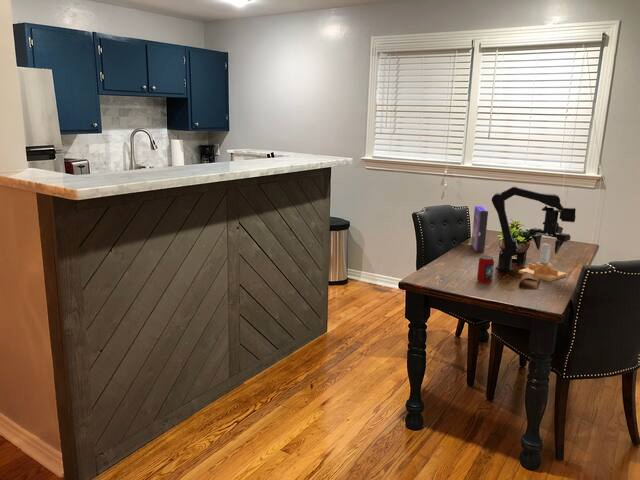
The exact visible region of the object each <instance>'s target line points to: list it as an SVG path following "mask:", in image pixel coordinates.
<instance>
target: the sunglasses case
mask: <svg viewBox="0 0 640 480" xmlns="http://www.w3.org/2000/svg"><path fill="white" fill-rule="evenodd" d="M540 282H541V279H538V278H536V277H534V276H533V275H531V274H530V273H528V272H524V273H523V274H521V276H520V280H519V284H518V286H519V288H521V289H526V290H528V289H529V290H535V291H538V290H539V284H540Z"/></svg>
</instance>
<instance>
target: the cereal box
mask: <svg viewBox="0 0 640 480" xmlns="http://www.w3.org/2000/svg"><path fill="white" fill-rule="evenodd" d="M473 210H474V211H473V212H474V213H473V222H472V231H471V241H470V242H471V247H472V246H473V247H472V248H473V250H474V249H475V250H474V251H484V252H485V249H486V248H485V246H486V245H485V244H486V237H487V228H488V218H489V211H488V210H487V209H486V208H485V207H484V206H481V205H480V206H479V205H475V206H474V209H473Z"/></svg>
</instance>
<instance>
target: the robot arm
mask: <svg viewBox="0 0 640 480" xmlns="http://www.w3.org/2000/svg"><path fill="white" fill-rule="evenodd" d="M513 196H518V197H522V198H526V199H529V200H533V201H535V202H536V201H537V202H540V203H542V204H543V205H545V206H544V207H542V208H541V211H543V212H545V213H544V214H545V215H544V221H543V222H542V225H543V229H542V228H538V227H533V228H530V229H529V230H528V235H530V237H532V239H533V241H534V244H535V247H536V249H537V250H538V251H539V250H541V240H542V237H543V236H544V237H545V236H546V237H549V238H555V239H556V240H555V244H554V245H555V246H554V253H555V254H558V252H559V250H560V248H561V247H562V246H563V244H564V243H567V242H568V241H571V238H572V237H571V235H570V234H569V233H568V234H567V233H564V232H563V231H564V227H562V226H559V225H560V224H559V222H558V220H560V221H561V222H566V223H575V221H576V211H577V210H576V207H564V206H563V205H562V204H561V198H560V196H559V195H558V194H555V193H542V192H537V191H534V190H533V191H532V190H529V189H526V188H520V187H518V186H516V185H515V186H514V185H513V186H511V187H510V188H508V189H506V190H504V191H501V192H496V193H495V194H493V196H492V198H491V203H492V205H493V207H494V209H495V211H496V214H497V216H498V220H499V224H500V227H501V232H502V236H503V243H504V244H503V246H504V249H502V250H500V254H499V258H498V259H499V260H498V266H496V267H495V269H496V270H500V271H504V272H510V271H513V270H515V269H514V268H512V262H513V257H514V256H515V255H516V254H517V252H518V250H519V244H518V243H517V241H518V240H517V238H513V235H512V231H511V228H510V225H509V224H510V223H509V220H508V216H507V212H506V201H507V200H509V199H510V198H512V197H513Z"/></svg>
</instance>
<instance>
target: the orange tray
mask: <svg viewBox="0 0 640 480" xmlns="http://www.w3.org/2000/svg"><path fill="white" fill-rule="evenodd" d="M535 263H536V264H533V263H528V267H526V268H523V269H519V270H518V274H521V275H523V273H524V272H528V273H530V274H531V275H533V276H534V277H536V278H538V279H540V280H542V281H546V282H551V281H555V280H558V279H562V278H565V277H567V275H568V273H567V272H563V271H560V270H557V269H554V268H553V265H552V263H550V262H549V264H542V263H539V261H537V262H535Z"/></svg>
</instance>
